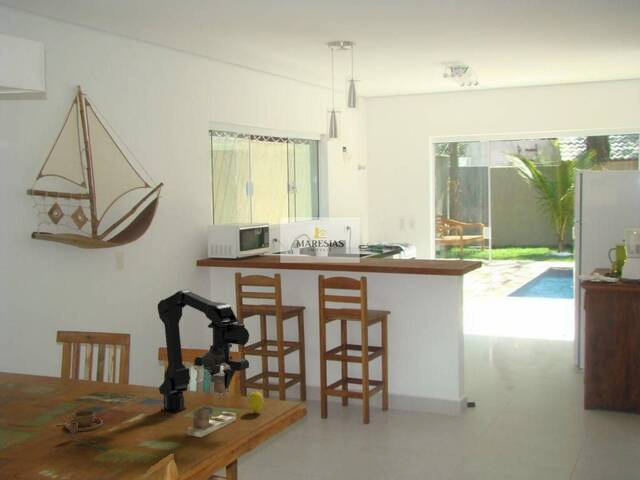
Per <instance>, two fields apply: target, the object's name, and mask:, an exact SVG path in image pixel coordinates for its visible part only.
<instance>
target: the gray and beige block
mask: <svg viewBox="0 0 640 480" xmlns="http://www.w3.org/2000/svg"><path fill="white" fill-rule="evenodd" d="M210 383H213V393H214V394H215V393H216V394H220V395H221V394H222V395H223V394H226V393H228V392H230V386H229V387H228V388H227V389H225V373H224V372H220V373H217V374H215V375H212V376H211V375H210Z"/></svg>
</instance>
